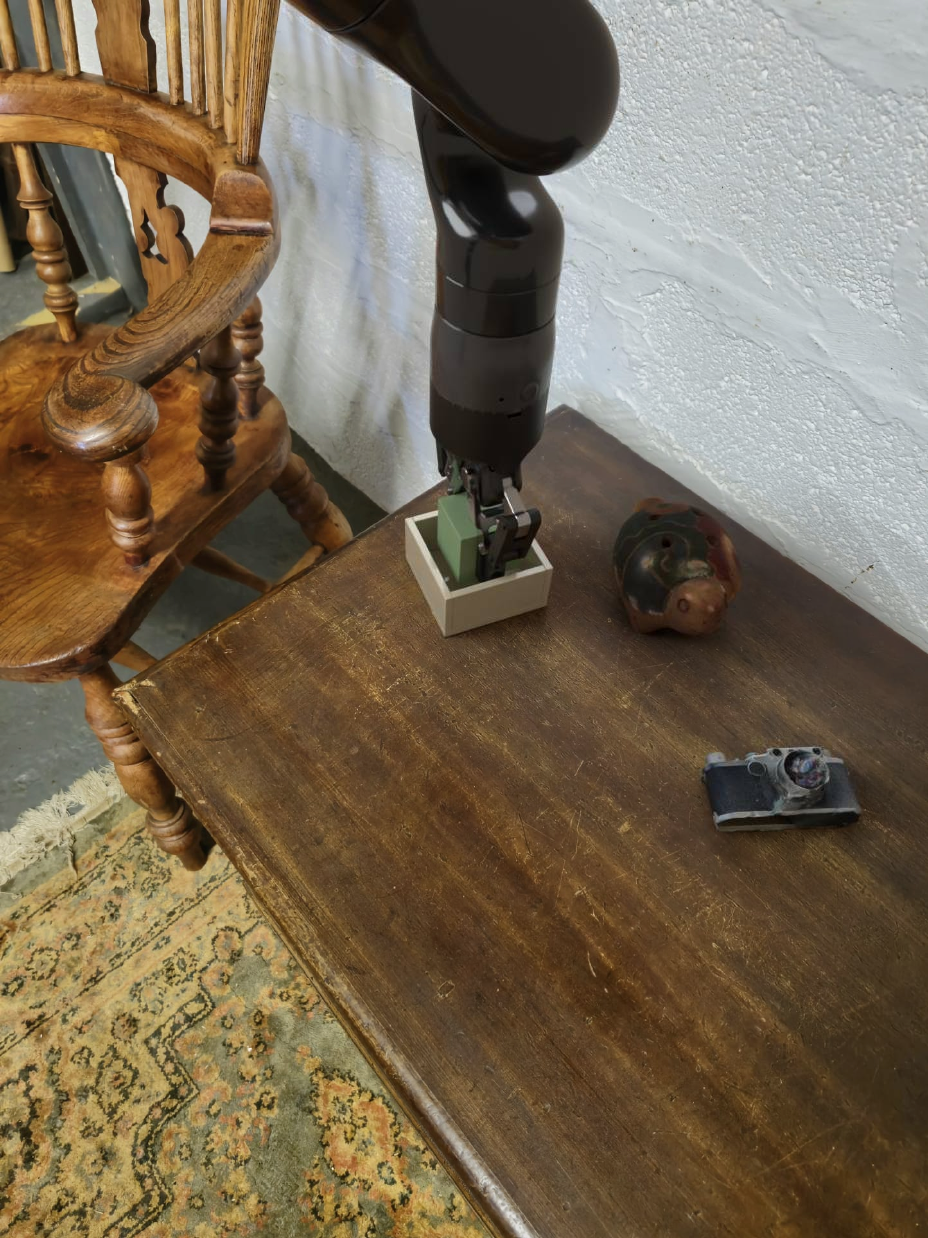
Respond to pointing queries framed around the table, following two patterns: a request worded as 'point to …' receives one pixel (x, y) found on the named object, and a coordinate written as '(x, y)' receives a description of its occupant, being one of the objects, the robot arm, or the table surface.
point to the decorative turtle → (675, 568)
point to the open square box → (472, 582)
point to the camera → (780, 790)
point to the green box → (460, 537)
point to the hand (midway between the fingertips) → (476, 553)
